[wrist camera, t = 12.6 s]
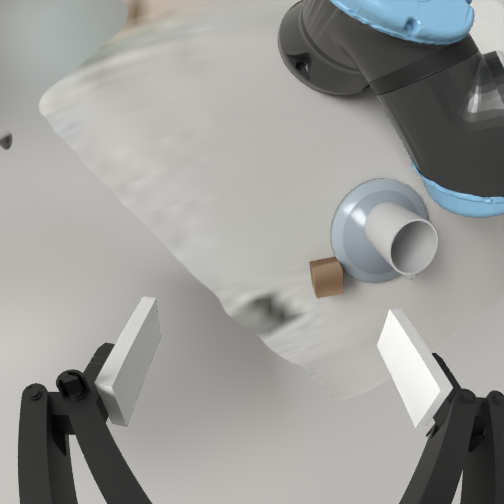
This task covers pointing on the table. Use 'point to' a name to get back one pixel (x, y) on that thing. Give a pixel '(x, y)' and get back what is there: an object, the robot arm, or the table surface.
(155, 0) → the table surface
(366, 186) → the dish
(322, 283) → the walnut block
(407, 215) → the cup
